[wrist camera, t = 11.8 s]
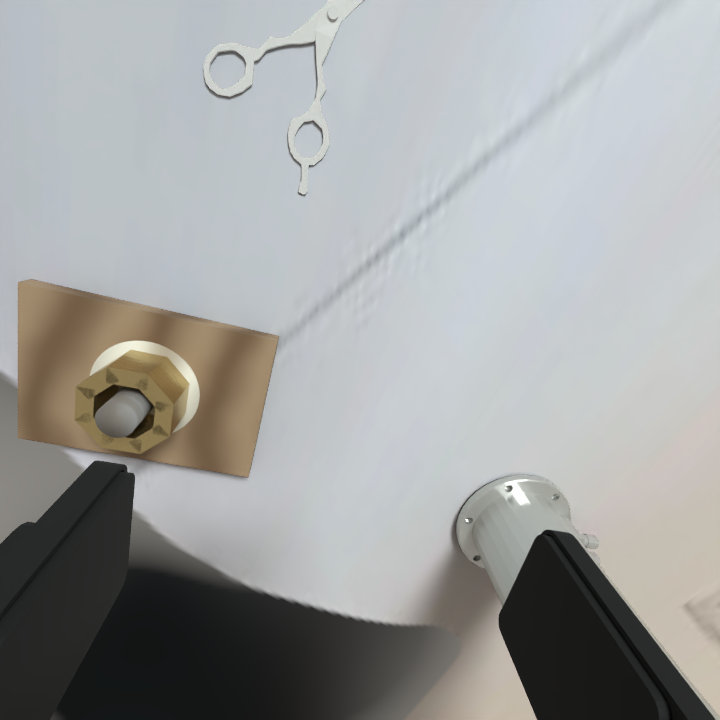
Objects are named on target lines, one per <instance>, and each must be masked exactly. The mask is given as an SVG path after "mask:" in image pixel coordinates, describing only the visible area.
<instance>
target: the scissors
mask: <svg viewBox="0 0 720 720" xmlns="http://www.w3.org/2000/svg"><path fill="white" fill-rule="evenodd" d="M363 1H364V0H328V1H327V3H326V5H325V6H324V7H323V8H321V9H320V10H319V11H318V12H317V13H316V14H314V15H313V16H312V17H311V18H310V19H309V20H308V21H307V22H306V23H305V24H304V25H302V26H301V27H300V28H298V29H297V30H296V31H294V32H293V33H292V34H291V35H290V36H289V37H284V38H276V37H270V38H269V39H268V40H267V41H266V42H265V43H264V44H263V45H262V46H261V47H260V48H259V49H256V48H250V47H245V46H242V45H240V44H237V43H228V44H221V45H218V46H217V47H215V48H213V49H212V50H211V51H210V53H209V54H208V56H207V57H206V59H205V63H204V77H205V82H206V84H207V85H208V87H209V88H210V89H211V90H212V91H214V92H215V93H216V94H218V95H221V96H227V97H232V96H234V95H237V94H240V93H242V92H244V91H245V90H246V89H248V88H249V87H250V86H251V85H253V73H254V62H256V61H259V60H260V59H261V58H262V56H263V55H264V54H265V53H266V52H267V51H268V50H271V49H275V48H278V47H282V46H288V45H304V44H309V43H314V42H315V41H316V63H317V77H318V87H317V93H316V98H315V100H314V102H313V103H312V105H311V107H310V108H309V110H308V112H307V113H305V114H304V115H302V116H299V117H296V118H294V119H292V120H291V123H290V127H289V131H288V143H289V147H290V152H291V153H292V155H293V157H294V158H295V159H296V160H297V161H298V162H299V163H300V164H301V165H302V180H301V183H300V186H299V191H298V192H300V193H301V194H306V193H307V191H308V187H307V177H308V170H309V165H315V164H316V163H317V162H319V161H320V160H321V159H322V158H323V157H324V155H325V153H326V151H327V149H328V147H329V130H328V127H327V124H326V122H325V120H324V119H323V117H322V115H321V106H320V100H321V98H322V96H323V95H324V93H325V91H326V87H325V84H324V81H323V78H322V64H323V62H324V60H325V58H326V56H327V54H328V52H329V49H330V47H331V45H332V42H333V40H334V38H335V35H336V33H337V31H338V28H339V26H340V24H341V22H342V21H343V20H344V19H345V18H346V17H347V16H348V15H349V14H350V13H351V12H352V11H353V10H354V9H355V8H356V7H357V6H358V5H359V4H360V3H362V2H363ZM228 51H235V52H237V53H238V54H240V55H241V56H242V57H243V58H244V59H245V62H246V69H245V75H244V76H243V77H242V78H241V80H240V81H239V82H238V83H237V84H236V85H234V86H232V87H229V88H225V89H223V88H220V87H219V86H218V85H217V84H215V83H214V81H213V80H212V79H211V75H210V67H211V63H212V62H213V60H214V59H215V57H216V56H217V55H218V53H221V52H228ZM309 121H314V122H315V123H316V124H317V125H318V126H319V127H320V128H321V129H322V132H323V144H322V147H321V148H320V150H319V152H318V153H317V154H316V155H315V156H314V157H311V158H304V157H302V156H301V155H300V154H299V153H298V152H297V151H296V149H295V143H294V139H295V135H296V133H297V131H298V129H299V128H300V126H301V125H302V124H303V123H304V122H309Z"/></svg>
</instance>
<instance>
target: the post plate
mask: <svg viewBox="0 0 720 720" xmlns="http://www.w3.org/2000/svg"><path fill="white" fill-rule="evenodd" d="M278 339H279V336H276V335H272V334H267V333H263V332H259V331H254V330H250V329H246V328H241V327H237V326H233V325H228V324H224V323H219V322H215V321H211V320H206V319H202V318H198V317H193V316H189V315H185V314H180V313H176V312H172V311H167V310H163V309H159V308H154V307H150V306H145V305H141V304H137V303H132V302H128V301H124V300H119V299H115V298H111V297H106V296H102V295H98V294H93V293H89V292H85V291H80V290H76V289H72V288H67V287H63V286H58V285H54V284H50V283H45V282H41V281H37V280H32V279H30V280H26V281H21V282H18V438H21V439H26V440H32V441H38V442H44V443H51V444H56V445H62V446H68V447H74V448H79V449H85V450H91V451H97V452H103V453H109V454H115V455H121V456H127V457H132V458H138V459H144V460H150V461H156V462H162V463H168V464H174V465H180V466H185V467H191V468H197V469H203V470H209V471H215V472H221V473H227V474H233V475H238V476H244V477H248V476H249V473H250V469H251V465H252V460H253V456H254V451H255V446H256V442H257V437H258V432H259V428H260V423H261V418H262V414H263V409H264V405H265V400H266V395H267V391H268V386H269V381H270V377H271V372H272V367H273V363H274V358H275V353H276V349H277V344H278ZM129 350H136V351H141V352H146V353H151V354H156V355H160V356H165V357H168V358H169V359H170V361H171V362H172V363H173V364H174V366H175V367H176V368H177V369H178V370H179V372H180V373H181V374H182V375H183V376H184V378H185V379H186V380H187V381H188V382H189V384H190V385H189V392H188V399H187V407H186V413H185V415H184V416H183V418H182V419H181V421H180V422H179V424H178V425H177V427H176V428H175V430H174V431H173V433H172V434H171V435H170V437H168V438H167V439H165V440H163V441H161V442H160V443H158V444H156V445H155V446H153V447H151V448H150V449H148V450H146V451H145V452H143V453H141V454H137V453H131V452H125V451H119V450H113V449H107V448H101V446H100V445H99V444H98V443H97V442H96V441H95V440H94V439H93V438H92V437H91V436H90V435H89V434H88V433H87V432H86V431H85V430H84V429H83V428H82V427H81V426H80V425H79V424H78V423H77V422H76V421H75V420H74V419H75V393H76V386H77V385H78V384H80V383H81V382H82V381H84V380H85V379H87V378H88V377H90V376H91V375H92V374H94V373H95V372H97V371H98V370H99V369H101V368H102V367H104V366H105V365H107V364H108V363H110V362H112V361H113V360H115V359H116V358H118V357H120V356H121V355H123V354H124V353H126V352H128V351H129ZM147 414H151V415H155V406H154V405H153V404H152V403H151V402H150V401H149V400H148V398H147V397H146V396H145V395H144V394H143V393H142V392H141V391H140V389H136V388H131V387H126V386H120V385H118V393H116V394H115V395H114V396H113V397H112V398H111V399H110V400H109V401H107V402H106V403H105V404H104V405H103V406H102V407H101V408H100V409H98V411H97V412H96V415H95V423H96V425H97V427H98V428H99V430H100V431H101V432H103V433H104V434H106V435H107V436H110V437H114V438H122V437H126V436H128V435H130V434H131V433H132V432H133V431H134V429H135V428H136V427H137V426H138V425H139V424H140V423H141V421H142V420H143V419H144V418H145V417H146V416H147Z"/></svg>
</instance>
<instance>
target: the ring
mask: <svg viewBox="0 0 720 720" xmlns="http://www.w3.org/2000/svg"><path fill="white" fill-rule="evenodd" d="M118 385H120V386H126V387H131V388H136V389H140V391H141V392H142V393H143V394H144V395H145V396H146V397H147V398H148V400H149V401H150V402H151V403H152V404H153V405H154V406H155V415H151V414H147V416H146V417H145V418H144V419H143V420H142V421H141V423H140V424H139V425H138V426H137V427H136V428H135V429H134V431H133V432H132V433H131V434H130V435H128V436H126V437H122V438H114V437H110V436H107V435H106V434H104V433H103V432H101V431H100V430H99V428H98V427H97V425H96V423H95V415H96V412H97V411H98V409H100V408H101V407H102V406H103V405H104V404H105V403H106V402H107V401H109V400H110V399H111V398H112V397H113V396H114V395H115V394H116V393H118ZM189 385H190V384H189V382H188V381H187V380H186V379H185V378H184V376H183V375H182V374H181V373H180V372H179V370H178V369H177V368H176V367H175V366H174V364H173V363H172V362H171V361H170V359H169V358H168V357H165V356H160V355H156V354H151V353H146V352H141V351H136V350H129V351H128V352H126V353H124V354H123V355H121V356H120V357H118V358H116V359H115V360H113V361H112V362H110V363H108V364H107V365H105V366H104V367H102V368H101V369H99V370H98V371H97V372H95V373H94V374H92V375H91V376H90V377H88V378H87V379H85V380H84V381H82V382H81V383H80V384H78V385H77V386H76V393H75V419H74V420H75V421H76V422H77V423H78V424H79V425H80V426H81V427H82V428H83V429H84V430H85V431H86V432H87V433H88V434H89V435H90V436H91V437H92V438H93V439H94V440H95V441H96V442H97V443H98V444H99V445H100V446H101V448H107V449H113V450H119V451H125V452H131V453H137V454H141V453H143V452H145V451H146V450H148V449H150V448H151V447H153V446H155V445H156V444H158V443H160V442H161V441H163V440H165V439H167V438H168V437H170V435H171V434H172V433H173V431H174V430H175V428H176V427H177V425H178V424H179V422H180V421H181V419H182V418H183V416H184V415H185V413H186V407H187V399H188V392H189Z"/></svg>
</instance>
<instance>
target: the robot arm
mask: <svg viewBox="0 0 720 720" xmlns="http://www.w3.org/2000/svg"><path fill="white" fill-rule="evenodd" d="M134 484H135V475H134V474H133V473H128V472H127V467H126V465H123V464H117V463H110V462H104V461H94V462H93V463H92V464H91V465H90V466H89V467H88V468H87V469H86V470H85V471H84V472H83V473H82V474H81V476H79V477H78V479H77V480H76V481H75V482H74V483H73V484H72V485H71V486H70V487H69V488H68V489H67V490H66V491H65V492H64V493H63V494H62V495H61V496H60V498H59V499H58V500H57V501H56V502H55V503H54V504H53V505H52V506H51V507H50V508H49V509H48V510H47V511H46V512H45V513H44V515H43V516H42V517H41V518H40V519H39V520H38V521H37V522H36V523H32V522H26V523H24V524H22V525H20V526H19V527H18V528H17V529H15V530H14V531H13V532H12V533H11V534H10V535H9V536H8V537H7V538H6V539H5V540H4V541H3V542H2V543H1V544H0V720H50V718H51V717H52V714H53V713H54V711H55V709H56V707H57V706H58V704H59V702H60V700H61V698H62V696H63V695H64V693H65V691H66V689H67V687H68V685H69V684H70V682H71V680H72V678H73V676H74V675H75V673H76V671H77V669H78V667H79V665H80V663H81V662H82V660H83V658H84V656H85V654H86V653H87V651H88V649H89V647H90V645H91V644H92V642H93V640H94V638H95V636H96V634H97V633H98V631H99V629H100V627H101V625H102V624H103V622H104V620H105V618H106V616H107V614H108V613H109V611H110V609H111V607H112V605H113V603H114V602H115V600H116V598H117V596H118V594H119V592H120V590H121V589H122V586H123V584H124V581H125V578H126V575H127V569H128V558H129V545H130V533H131V519H132V509H133V497H134ZM570 520H571V512H570V507H569V504H568V501H567V499H566V498H565V497H564V495H563V494H562V492H561V491H560V490H559V489H558V488H557V487H556V486H555V485H554V484H552V483H551V482H549V481H548V480H545V479H543V478H540V477H536V476H531V475H514V476H508V477H504V478H501V479H498V480H495V481H493V482H491V483H489V484H487V485H485V486H484V487H482V488H481V489H480V490H478V491H477V492H476V493H475V494H474V495H473V496H471V497H470V498H469V500H468V501H467V502H466V504H465V505H464V506H463V508H462V510H461V512H460V514H459V516H458V520H457V524H456V535H457V539H458V543H459V545H460V547H461V550H462V552H463V553H464V555H465V556H466V557H467V558H468V559H469V560H470V561H471V562H472V563H473V564H475V565H477V566H479V567H480V568H483V569H486V571H487V573H488V575H489V578H490V580H491V582H492V584H493V587H494V589H495V591H496V593H497V595H498V598H499V600H500V602H501V604H502V606H503V607H502V609H501V612H500V614H499V628H500V631H501V634H502V636H503V639H504V641H505V644H506V646H507V648H508V651H509V653H510V656H511V658H512V660H513V663H514V665H515V668H516V670H517V672H518V675H519V677H520V680H521V682H522V684H523V687H524V689H525V692H526V694H527V696H528V699H529V701H530V704H531V706H532V708H533V711H534V713H535V716H536V718H537V720H720V716H719V715H718V714H717V713H716V711H715V710H714V709H713V708H712V706H711V705H710V704H709V703H708V702H707V700H706V699H705V698H704V697H703V696H702V694H701V693H700V692H699V691H698V689H697V688H696V687H695V686H694V685H693V683H692V682H691V681H690V680H689V678H688V677H687V676H686V675H685V674H684V672H683V671H682V670H681V669H680V667H679V666H678V665H677V664H676V662H675V661H674V660H673V659H672V657H671V656H670V655H669V653H668V652H667V651H666V650H665V648H664V647H663V646H662V645H661V643H660V642H659V641H658V639H657V638H656V637H655V636H654V634H653V633H652V632H651V630H650V629H649V628H648V627H647V625H646V624H645V623H644V621H643V620H642V619H641V618H640V616H639V615H638V614H637V612H636V611H635V610H634V609H633V607H632V606H631V605H630V604H629V602H628V601H627V600H626V598H625V597H624V596H623V595H622V593H621V592H620V591H619V589H618V588H617V587H616V586H615V584H614V583H613V582H612V580H611V579H610V578H609V577H608V575H607V574H606V573H605V571H604V570H603V569H602V568H601V566H600V560H599V557H598V555H597V554H596V553H594V552H589V551H588V550H587V548H591V549H596V548H598V545H599V541H598V539H597V537H596V536H594V535H588V534H580V533H579V532H578V531H577V529H576V528H575V527H574V525H573V524H572V523H571V522H570Z"/></svg>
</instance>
